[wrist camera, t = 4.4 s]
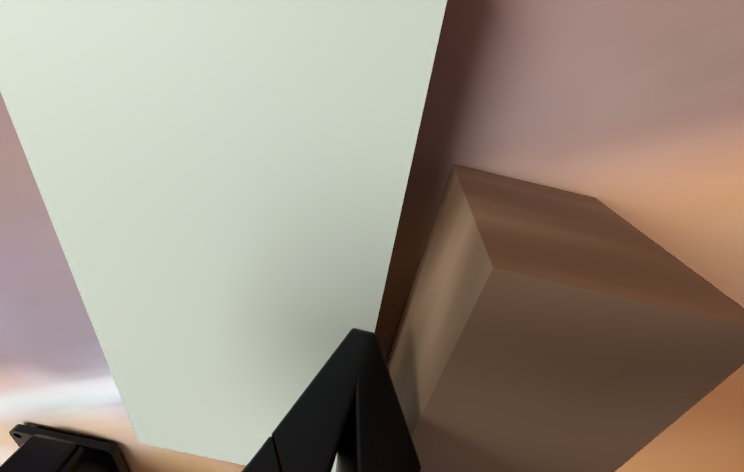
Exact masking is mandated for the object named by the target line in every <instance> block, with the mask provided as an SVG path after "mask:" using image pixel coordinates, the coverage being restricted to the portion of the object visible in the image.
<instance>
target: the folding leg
mask: <svg viewBox="0 0 744 472" xmlns="http://www.w3.org/2000/svg"><path fill="white" fill-rule="evenodd" d="M386 364H387V367H388V370H389V373H390V376H391V379H392V382H393V385H394V388H395V391H396V394H397V397H398V400H399V403H400V405H401V408H402V411H403V414H404V417H405V420H406V423H407V426H408V429H409V432H410V435H411V438H412V441H413V444H414V447H415V450H416V453H417V456H418V459H419V462H420V464H421V470H420V471H422V472H615V471H616V470H617V469H618V468H619V467H621V466H622V465H623V464H624V463H625V462H627V461H628V460H629V459H630V458H631V457H633V456H634V455H635V454H636V453H637V452H639V451H640V450H641V449H642V448H643V447H645V446H646V445H647V444H648V443H649V442H651V441H652V440H653V439H654V438H655V437H657V436H658V435H659V434H660V433H661V432H663V431H664V430H665V429H666V428H667V427H669V426H670V425H671V424H672V423H673V422H674V421H676V420H677V419H678V418H679V417H680V416H682V415H683V414H684V413H685V412H686V411H688V410H689V409H690V408H691V407H692V406H694V405H695V404H696V403H697V402H698V401H700V400H701V399H702V398H703V397H704V396H706V395H707V394H708V393H709V392H710V391H712V390H713V389H714V388H715V387H716V386H718V385H719V384H720V383H721V382H722V381H724V380H725V379H726V378H727V377H728V376H730V375H731V374H732V373H733V372H734V371H736V370H737V369H738V368H739V367H740V366H741V365H743V364H744V308H743V307H741V306H740V305H738V304H737V303H736V302H734V301H733V300H732V299H730V298H729V297H728V296H726V295H725V294H724V293H722V292H721V291H720V290H718V289H717V288H716V287H714V286H713V285H712V284H710V283H709V282H708V281H706V280H705V279H703V278H702V277H701V276H699V275H698V274H697V273H695V272H694V271H693V270H691V269H690V268H689V267H687V266H686V265H685V264H683V263H682V262H681V261H679V260H678V259H677V258H675V257H674V256H672V255H671V254H670V253H668V252H667V251H666V250H664V249H663V248H662V247H660V246H659V245H658V244H656V243H655V242H654V241H652V240H651V239H650V238H648V237H647V236H646V235H644V234H643V233H641V232H640V231H639V230H637V229H636V228H635V227H633V226H632V225H631V224H629V223H628V222H627V221H625V220H624V219H623V218H621V217H620V216H619V215H617V214H616V213H615V212H613V211H612V210H611V209H609V208H608V207H606V206H605V205H604V204H602V203H601V202H600V201H598V200H597V199H596V198H593V197H589V196H585V195H580V194H576V193H572V192H568V191H563V190H559V189H555V188H550V187H546V186H542V185H538V184H533V183H529V182H525V181H521V180H516V179H512V178H508V177H504V176H499V175H495V174H491V173H486V172H482V171H478V170H474V169H469V168H465V167H461V166H457V165H453V166H452V169H451V172H450V175H449V178H448V181H447V184H446V187H445V190H444V193H443V196H442V199H441V202H440V205H439V208H438V210H437V213H436V216H435V219H434V222H433V225H432V228H431V231H430V234H429V237H428V240H427V243H426V246H425V249H424V252H423V255H422V258H421V261H420V264H419V267H418V270H417V273H416V276H415V279H414V282H413V284H412V287H411V290H410V293H409V296H408V299H407V302H406V305H405V308H404V311H403V314H402V317H401V320H400V323H399V326H398V329H397V332H396V335H395V338H394V341H393V344H392V347H391V350H390V353H389V355H388V358H387V361H386Z"/></svg>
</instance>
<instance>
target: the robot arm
mask: <svg viewBox="0 0 744 472" xmlns="http://www.w3.org/2000/svg"><path fill="white" fill-rule="evenodd" d="M9 433H10V435H11V436H12V438H13V439H14V440H15V442H16V443H17V444H18V446H19V447H20V448H18V449H17V450H16V451H15V452H14V453H13V454H12V455H11V456H10V457H9V458H8V459H7V460H6V461H5V462H4V463H3V464H2V465H1V466H0V472H128V470H127V467H126V465H125V463H124V461H123V459H122V457H121V454H120V452H119V450H118V448H117V447H116V446H114V445H112V444H110V443H106V442H101V441H97V440H92V439H87V438H82V437H78V436H73V435H68V434H64V433H59V432H54V431H50V430H45V429H40V428H35V427H31V426H26V425H21V424H18V425H16V426H15V427H14V428H13V429H12V430H11V431H10V432H9ZM336 455H337V463H336V472H422V471H420V470H421V464H420V462H419V459H418V456H417V453H416V450H415V447H414V444H413V441H412V438H411V435H410V432H409V429H408V426H407V423H406V420H405V417H404V414H403V411H402V408H401V405H400V403H399V400H398V397H397V394H396V391H395V388H394V385H393V382H392V379H391V376H390V373H389V370H388V367H387V364H386V361H385V358H384V355H383V352H382V349H381V347H380V344H379V341H378V338H377V335H376V334H375V333H374V332H370V331H366V330H361V329H357V328H352V329H351V330H350V331H349V333H348V334H347V335H346V337H345V338H344V339H343V341H342V342H341V343H340V345H339V346H338V347H337V348H336V350H335V351H334V352H333V354H332V355H331V356H330V358H329V359H328V360H327V362H326V363H325V364H324V366H323V367H322V368H321V369H320V371H319V372H318V373H317V375H316V376H315V377H314V379H313V380H312V381H311V383H310V384H309V385H308V387H307V388H306V389H305V390H304V392H303V393H302V394H301V396H300V397H299V398H298V400H297V401H296V402H295V404H294V405H293V406H292V408H291V409H290V410H289V411H288V413H287V414H286V415H285V417H284V418H283V419H282V421H281V422H280V423H279V425H278V426H277V427H276V429H275V430H274V431H273V432H272V435H271V436H270V437H268V439H267V440H266V441H265V443H264V444H263V445H262V447H261V448H260V449H259V450H258V452H257V453H256V454H255V456H254V457H253V458H252V459H251V460H250V462H249V463H248V464H247V465H246V467H245V468H244V469H243V470H242V472H331V471H332V468H333V465H334V462H335V458H336Z"/></svg>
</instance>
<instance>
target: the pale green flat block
mask: <svg viewBox="0 0 744 472" xmlns="http://www.w3.org/2000/svg"><path fill="white" fill-rule="evenodd" d="M446 4H447V0H0V91H1V94H2V97H3V99H4V102H5V104H6V107H7V109H8V112H9V114H10V117H11V119H12V122H13V124H14V127H15V130H16V132H17V135H18V137H19V140H20V142H21V145H22V147H23V150H24V152H25V155H26V157H27V160H28V163H29V165H30V168H31V170H32V173H33V175H34V178H35V180H36V183H37V185H38V188H39V190H40V193H41V196H42V198H43V201H44V203H45V206H46V208H47V211H48V213H49V216H50V218H51V221H52V223H53V226H54V229H55V231H56V234H57V236H58V239H59V241H60V244H61V246H62V249H63V251H64V254H65V256H66V259H67V262H68V264H69V267H70V269H71V272H72V274H73V277H74V279H75V282H76V284H77V287H78V289H79V292H80V294H81V297H82V300H83V302H84V305H85V307H86V310H87V312H88V315H89V317H90V320H91V322H92V325H93V327H94V330H95V333H96V335H97V338H98V340H99V343H100V345H101V348H102V350H103V353H104V355H105V358H106V360H107V363H108V366H109V368H110V371H111V373H112V376H113V378H114V381H115V383H116V386H117V388H118V391H119V393H120V396H121V399H122V401H123V404H124V406H125V409H126V411H127V414H128V416H129V419H130V421H131V424H132V426H133V429H134V432H135V434H136V437H137V439H138V442H139V443H142V444H147V445H151V446H156V447H161V448H165V449H170V450H175V451H180V452H184V453H189V454H194V455H198V456H203V457H208V458H213V459H217V460H222V461H227V462H231V463H236V464H241V465H247V464H248V463H249V462H250V460H251V459H252V458H253V457H254V456H255V454H256V453H257V452H258V450H259V449H260V448H261V447H262V445H263V444H264V443H265V441H266V440H267V439H268V437H270V436H271V435H272V432H273V431H274V430H275V429H276V427H277V426H278V425H279V423H280V422H281V421H282V419H283V418H284V417H285V415H286V414H287V413H288V411H289V410H290V409H291V408H292V406H293V405H294V404H295V402H296V401H297V400H298V398H299V397H300V396H301V394H302V393H303V392H304V390H305V389H306V388H307V387H308V385H309V384H310V383H311V381H312V380H313V379H314V377H315V376H316V375H317V373H318V372H319V371H320V369H321V368H322V367H323V366H324V364H325V363H326V362H327V360H328V359H329V358H330V356H331V355H332V354H333V352H334V351H335V350H336V348H337V347H338V346H339V345H340V343H341V342H342V341H343V339H344V338H345V337H346V335H347V334H348V333H349V331H350V330H351V329H352V328H357V329H361V330H366V331H370V332H374V333H375V328H376V324H377V319H378V314H379V310H380V305H381V301H382V296H383V292H384V287H385V282H386V278H387V273H388V269H389V264H390V260H391V255H392V250H393V246H394V241H395V237H396V232H397V228H398V223H399V218H400V214H401V209H402V205H403V200H404V196H405V191H406V187H407V182H408V177H409V173H410V168H411V164H412V159H413V155H414V150H415V145H416V141H417V136H418V132H419V127H420V123H421V118H422V113H423V109H424V104H425V100H426V95H427V91H428V86H429V81H430V77H431V72H432V68H433V63H434V59H435V54H436V49H437V45H438V40H439V36H440V31H441V27H442V22H443V17H444V13H445V8H446ZM336 463H337V455H336V458H335V462H334V465H333V468H332V471H331V472H336Z"/></svg>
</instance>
